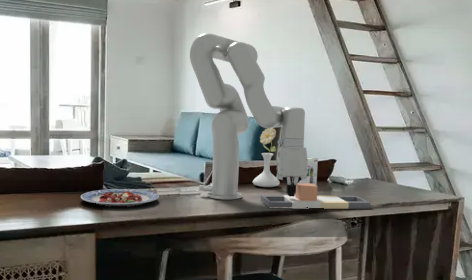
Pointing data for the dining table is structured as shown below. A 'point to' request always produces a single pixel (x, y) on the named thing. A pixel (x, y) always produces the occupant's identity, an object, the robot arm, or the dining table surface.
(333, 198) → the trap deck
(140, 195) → the ceramic plate
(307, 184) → the terracotta block
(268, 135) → the flower in vase
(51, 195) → the dining table surface
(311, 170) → the syrup box
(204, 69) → the robot arm
